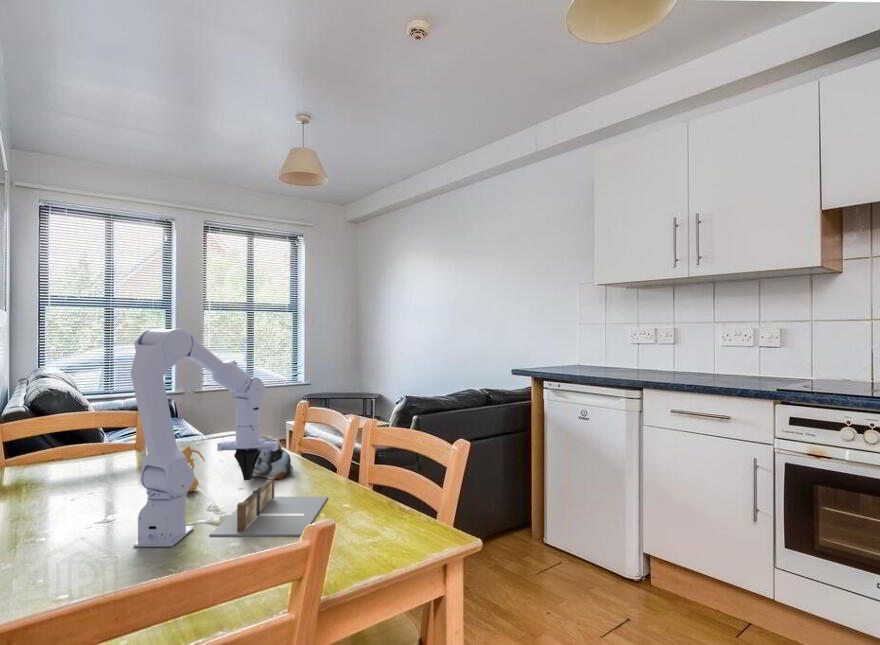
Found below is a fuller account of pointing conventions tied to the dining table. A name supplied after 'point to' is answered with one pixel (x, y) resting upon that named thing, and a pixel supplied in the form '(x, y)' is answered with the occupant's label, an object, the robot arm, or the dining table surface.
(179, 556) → the dining table surface
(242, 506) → the fixed fence section
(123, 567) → the dining table surface
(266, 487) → the post
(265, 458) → the lucky cat figurine
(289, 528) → the card
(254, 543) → the dining table surface
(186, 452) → the figurine
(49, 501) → the dining table surface
